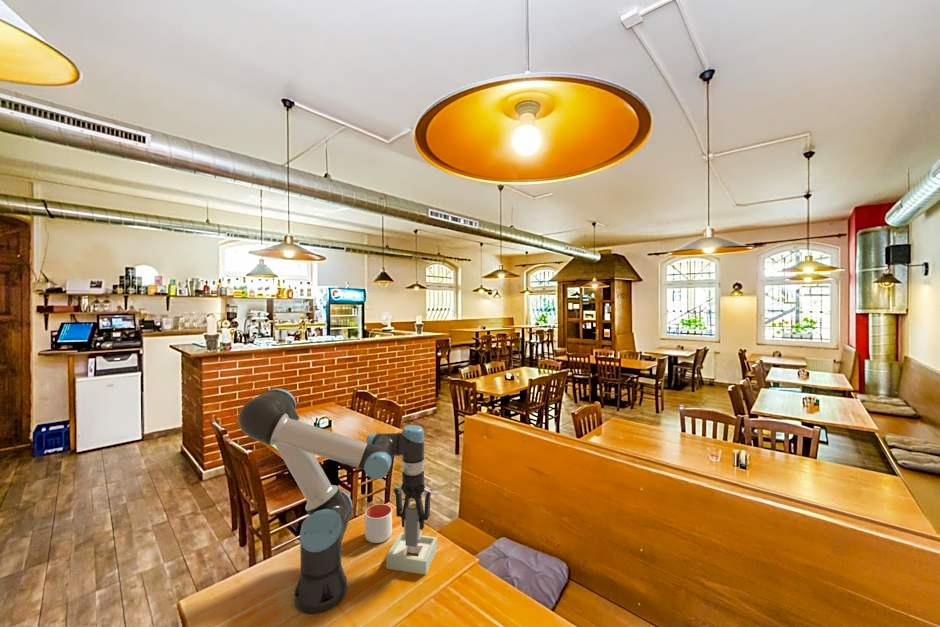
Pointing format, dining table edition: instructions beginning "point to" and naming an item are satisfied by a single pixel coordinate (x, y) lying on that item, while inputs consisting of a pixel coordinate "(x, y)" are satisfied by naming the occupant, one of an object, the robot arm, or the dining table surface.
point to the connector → (411, 524)
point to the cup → (378, 523)
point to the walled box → (407, 563)
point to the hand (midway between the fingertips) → (413, 536)
